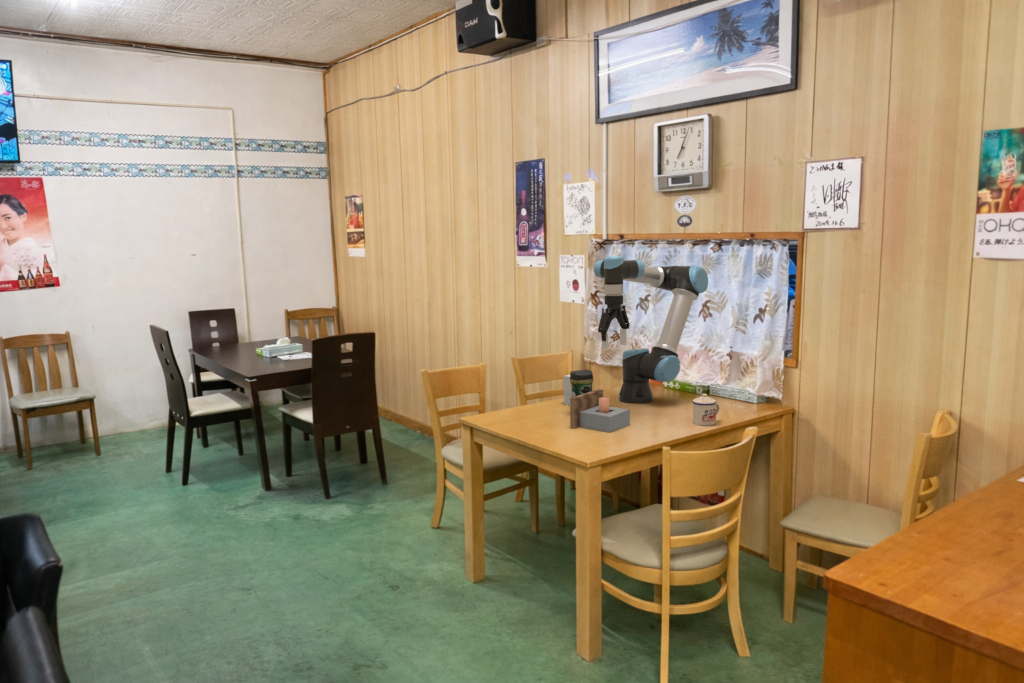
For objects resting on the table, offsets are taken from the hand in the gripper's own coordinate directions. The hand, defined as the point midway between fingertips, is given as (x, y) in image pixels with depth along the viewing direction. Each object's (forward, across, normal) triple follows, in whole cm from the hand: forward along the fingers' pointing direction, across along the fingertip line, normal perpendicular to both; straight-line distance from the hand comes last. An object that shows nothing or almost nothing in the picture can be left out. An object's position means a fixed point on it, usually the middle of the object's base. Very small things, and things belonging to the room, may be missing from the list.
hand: (614, 346), depth 293 cm
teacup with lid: (+29, -10, +36) cm, 47 cm away
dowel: (+27, +18, +6) cm, 33 cm away
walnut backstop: (+29, +17, -2) cm, 33 cm away
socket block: (+28, +17, +6) cm, 34 cm away
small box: (+29, -8, -26) cm, 40 cm away
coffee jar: (+29, +5, -13) cm, 32 cm away
